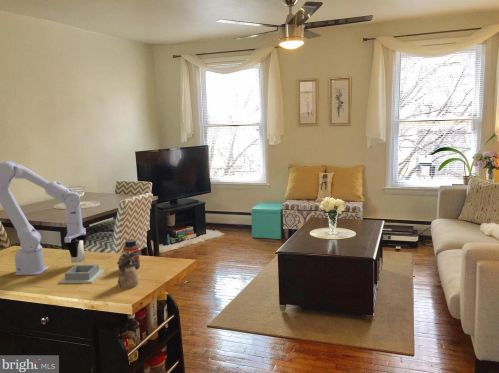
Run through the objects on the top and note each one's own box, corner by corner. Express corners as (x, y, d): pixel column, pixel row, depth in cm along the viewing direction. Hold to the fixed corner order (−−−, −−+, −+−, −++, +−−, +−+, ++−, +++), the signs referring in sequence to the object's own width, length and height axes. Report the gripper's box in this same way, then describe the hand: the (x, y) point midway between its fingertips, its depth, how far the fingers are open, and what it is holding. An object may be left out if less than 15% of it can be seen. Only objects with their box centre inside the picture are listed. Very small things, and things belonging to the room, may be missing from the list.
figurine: (120, 281, 156) (117, 249, 154) (140, 280, 156) (137, 248, 154) (115, 289, 149) (112, 256, 147) (136, 288, 149) (134, 255, 147)
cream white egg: (69, 262, 171) (67, 243, 170) (74, 258, 176) (73, 239, 175) (81, 262, 171) (79, 243, 170) (86, 258, 176) (85, 239, 174)
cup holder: (59, 283, 156) (58, 274, 156) (74, 271, 168) (73, 263, 167) (91, 282, 155) (91, 274, 155) (104, 271, 167) (103, 263, 167)
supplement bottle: (135, 271, 166) (133, 242, 164) (121, 270, 167) (119, 242, 166) (142, 265, 172) (140, 238, 170) (128, 265, 173) (126, 238, 171)
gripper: (76, 226, 163) (79, 260, 166) (91, 217, 178) (94, 249, 180) (58, 226, 164) (61, 260, 166) (75, 217, 178) (78, 249, 180)
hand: (77, 254), depth 173 cm, fingers closed on cream white egg, 5 cm apart
